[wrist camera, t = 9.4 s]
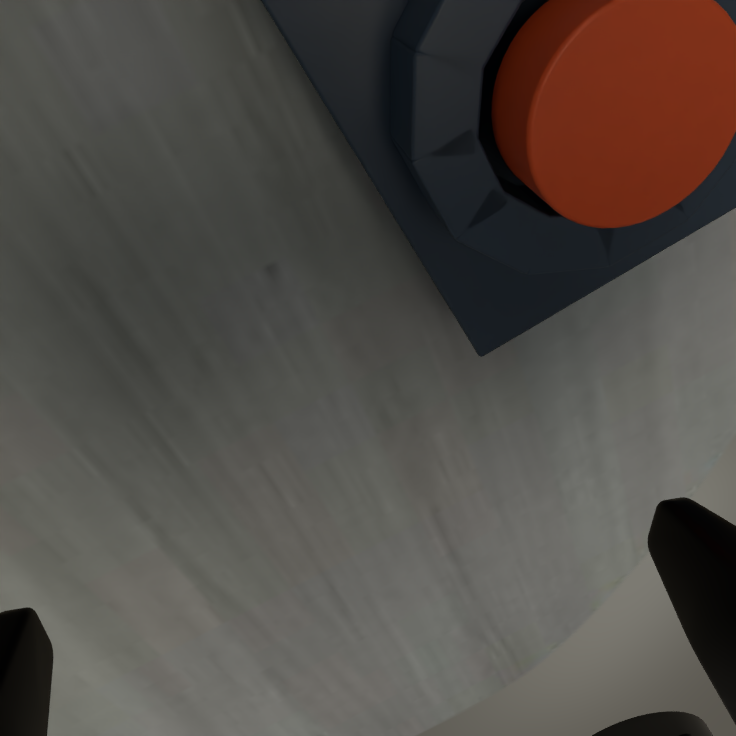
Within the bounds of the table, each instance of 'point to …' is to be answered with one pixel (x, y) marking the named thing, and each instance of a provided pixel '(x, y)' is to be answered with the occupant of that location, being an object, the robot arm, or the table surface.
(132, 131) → the table surface
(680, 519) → the robot arm
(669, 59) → the red push button
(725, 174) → the push button box
